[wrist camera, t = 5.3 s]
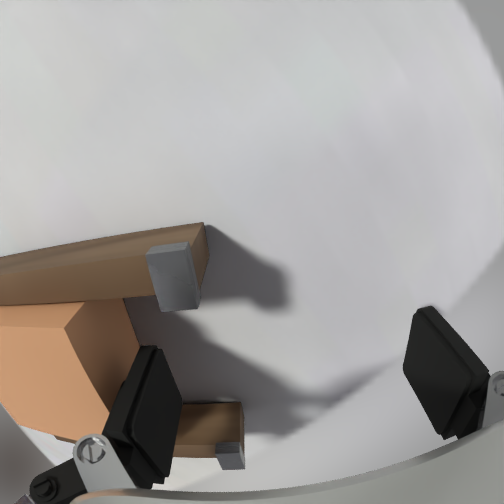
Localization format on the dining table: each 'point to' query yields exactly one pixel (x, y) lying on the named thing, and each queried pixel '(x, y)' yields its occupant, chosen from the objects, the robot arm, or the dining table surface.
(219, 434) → the brown wooden rail pair
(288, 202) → the dining table surface
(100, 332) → the light orange block
